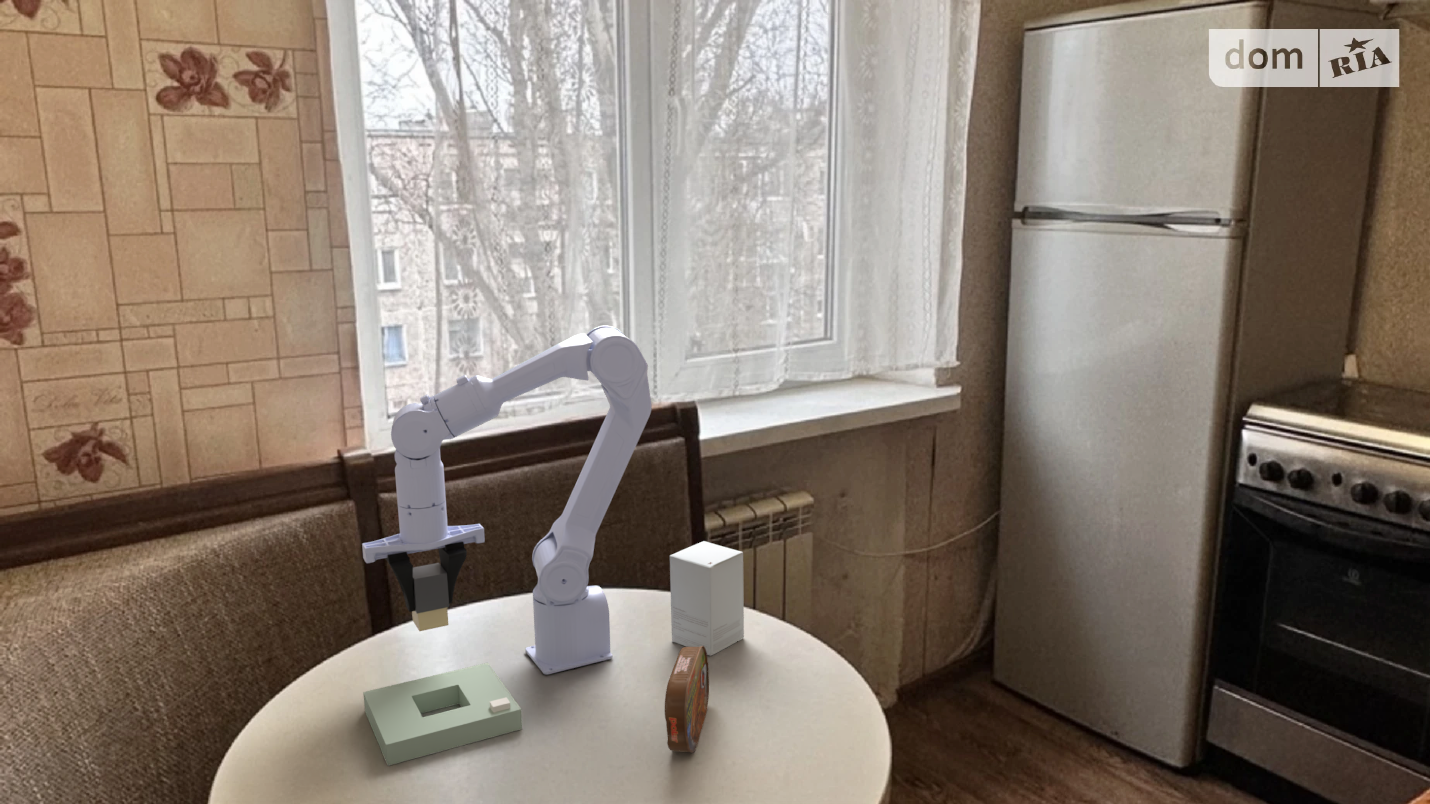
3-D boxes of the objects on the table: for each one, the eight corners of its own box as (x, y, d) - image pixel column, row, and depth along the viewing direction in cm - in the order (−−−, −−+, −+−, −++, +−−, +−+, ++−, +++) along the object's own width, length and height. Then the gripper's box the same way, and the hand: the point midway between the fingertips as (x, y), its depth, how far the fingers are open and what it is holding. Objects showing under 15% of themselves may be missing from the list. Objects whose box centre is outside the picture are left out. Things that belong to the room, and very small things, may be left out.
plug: (442, 613, 129) (438, 562, 127) (450, 625, 126) (446, 573, 124) (410, 620, 127) (406, 568, 126) (418, 632, 124) (414, 579, 122)
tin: (690, 768, 107) (689, 696, 105) (661, 766, 107) (660, 694, 106) (711, 698, 121) (711, 634, 120) (685, 696, 122) (685, 632, 120)
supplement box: (745, 638, 137) (745, 551, 134) (710, 657, 132) (709, 567, 129) (705, 623, 142) (704, 539, 139) (669, 641, 136) (667, 554, 134)
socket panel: (488, 680, 126) (487, 657, 125) (522, 728, 115) (520, 703, 114) (364, 711, 119) (362, 686, 118) (387, 765, 108) (385, 738, 107)
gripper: (471, 484, 130) (477, 582, 133) (354, 502, 123) (363, 605, 126) (487, 499, 124) (492, 601, 127) (365, 518, 117) (374, 626, 120)
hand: (429, 604), depth 126 cm, fingers closed on plug, 4 cm apart
